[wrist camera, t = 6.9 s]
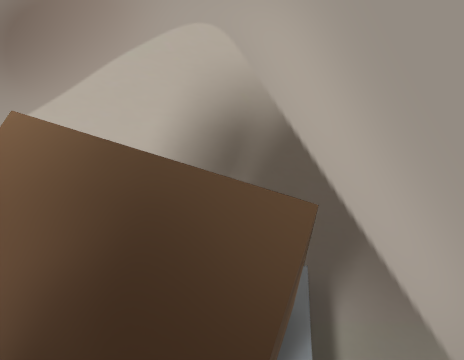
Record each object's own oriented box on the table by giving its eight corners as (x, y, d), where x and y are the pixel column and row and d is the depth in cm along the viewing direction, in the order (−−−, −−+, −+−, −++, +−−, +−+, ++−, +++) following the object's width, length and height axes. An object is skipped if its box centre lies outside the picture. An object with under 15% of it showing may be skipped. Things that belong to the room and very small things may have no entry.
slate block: (308, 453, 17) (318, 476, 15) (135, 446, 18) (114, 467, 15) (300, 275, 20) (307, 266, 18) (152, 272, 21) (137, 263, 18)
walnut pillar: (254, 431, 15) (147, 742, 3) (144, 378, 16) (-229, 459, 4) (293, 306, 17) (318, 205, 5) (190, 267, 18) (11, 111, 6)
